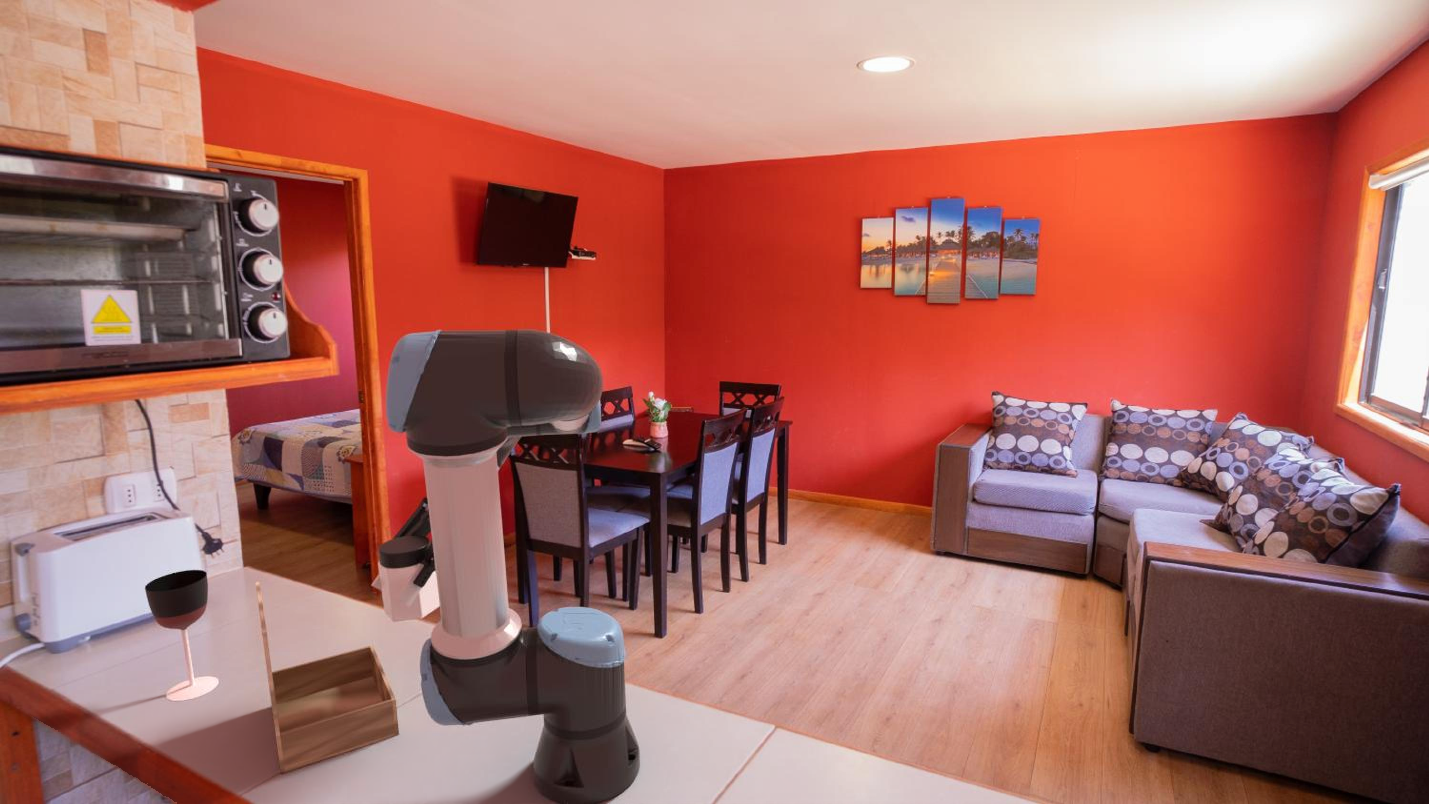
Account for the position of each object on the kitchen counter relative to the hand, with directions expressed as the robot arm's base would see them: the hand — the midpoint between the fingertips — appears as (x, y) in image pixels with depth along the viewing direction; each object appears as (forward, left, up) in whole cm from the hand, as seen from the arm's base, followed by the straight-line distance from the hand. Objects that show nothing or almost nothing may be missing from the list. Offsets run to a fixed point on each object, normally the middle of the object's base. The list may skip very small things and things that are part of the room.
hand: (390, 595), depth 122 cm
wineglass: (+22, +29, -18) cm, 41 cm away
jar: (+1, -4, -4) cm, 6 cm away
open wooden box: (-2, +10, -18) cm, 21 cm away
